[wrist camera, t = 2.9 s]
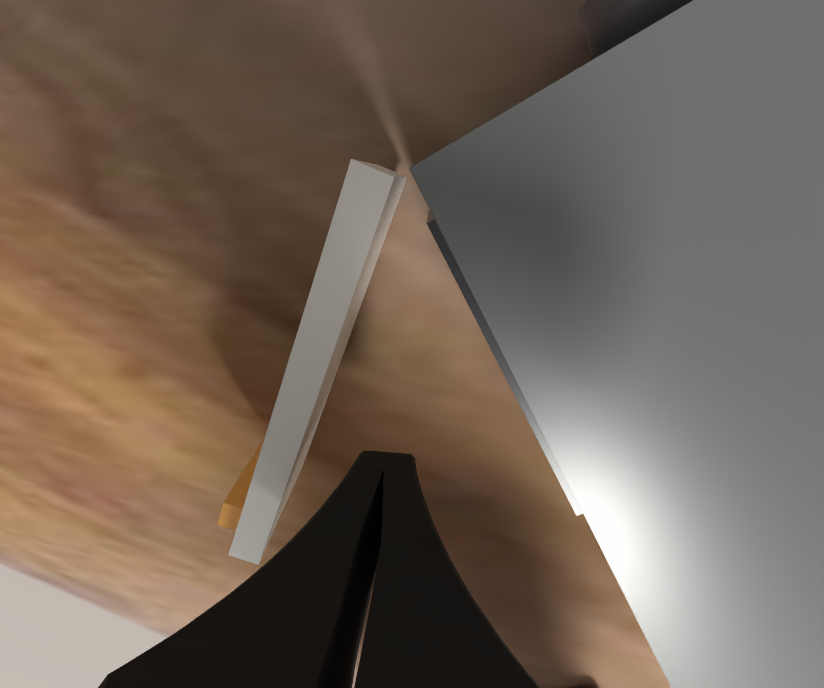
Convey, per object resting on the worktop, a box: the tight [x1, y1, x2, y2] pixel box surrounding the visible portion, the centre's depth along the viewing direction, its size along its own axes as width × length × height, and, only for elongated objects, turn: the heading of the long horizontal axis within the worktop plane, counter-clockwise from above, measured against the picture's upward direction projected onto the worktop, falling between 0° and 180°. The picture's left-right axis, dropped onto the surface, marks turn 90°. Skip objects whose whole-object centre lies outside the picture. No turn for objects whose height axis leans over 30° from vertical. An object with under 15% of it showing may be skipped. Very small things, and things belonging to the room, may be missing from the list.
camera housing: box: [409, 0, 824, 688], centre depth 11 cm, size 19×10×4 cm, turn 29°
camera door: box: [217, 159, 407, 565], centre depth 11 cm, size 10×1×4 cm, turn 159°
